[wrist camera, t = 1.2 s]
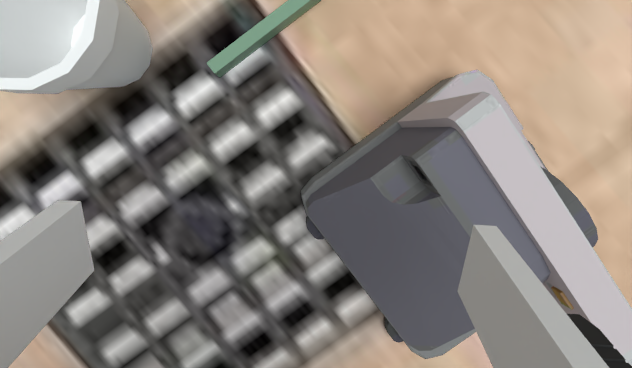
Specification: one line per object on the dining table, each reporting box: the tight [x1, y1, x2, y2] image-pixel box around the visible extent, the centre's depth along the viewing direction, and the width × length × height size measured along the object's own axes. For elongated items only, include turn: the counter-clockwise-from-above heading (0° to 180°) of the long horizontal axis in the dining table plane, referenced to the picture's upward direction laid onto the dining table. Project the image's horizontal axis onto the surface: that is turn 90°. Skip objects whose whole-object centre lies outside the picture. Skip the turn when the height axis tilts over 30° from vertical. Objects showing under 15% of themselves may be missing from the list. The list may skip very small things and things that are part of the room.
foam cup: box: [0, 0, 153, 94], centre depth 27 cm, size 10×9×13 cm
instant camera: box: [301, 70, 632, 366], centre depth 30 cm, size 21×21×15 cm
